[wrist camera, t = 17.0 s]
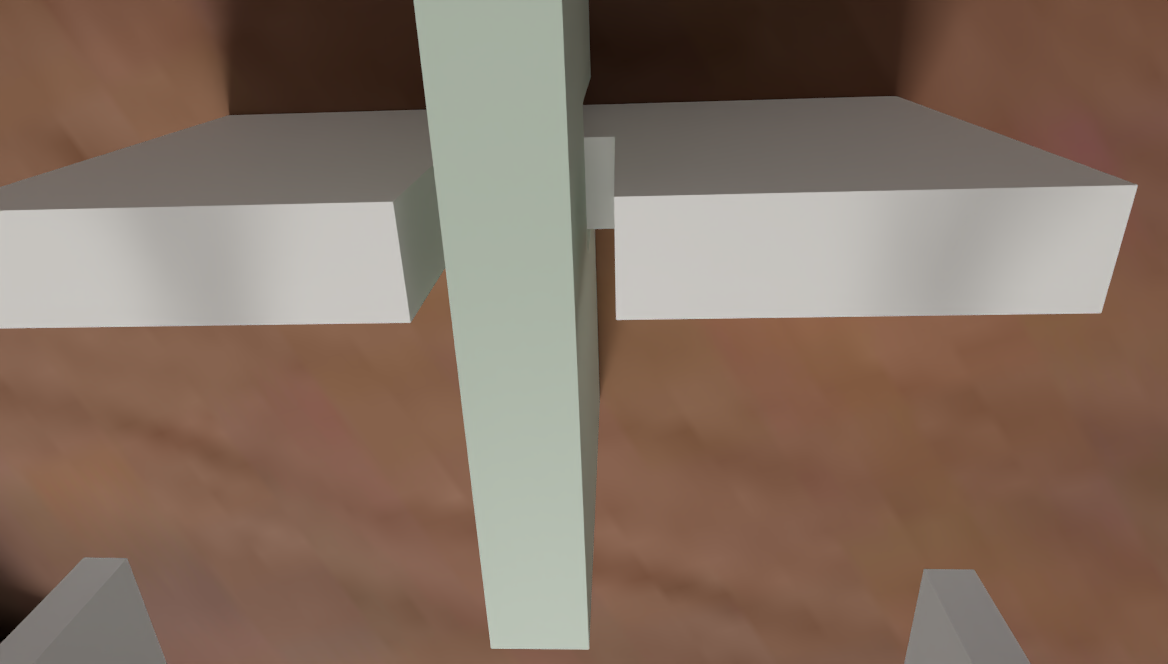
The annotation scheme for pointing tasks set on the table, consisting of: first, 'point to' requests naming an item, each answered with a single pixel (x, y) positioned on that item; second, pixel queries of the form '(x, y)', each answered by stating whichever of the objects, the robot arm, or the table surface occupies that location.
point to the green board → (520, 297)
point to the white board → (613, 201)
